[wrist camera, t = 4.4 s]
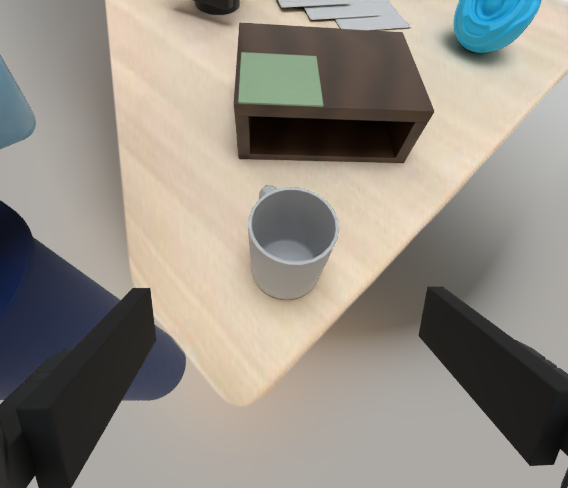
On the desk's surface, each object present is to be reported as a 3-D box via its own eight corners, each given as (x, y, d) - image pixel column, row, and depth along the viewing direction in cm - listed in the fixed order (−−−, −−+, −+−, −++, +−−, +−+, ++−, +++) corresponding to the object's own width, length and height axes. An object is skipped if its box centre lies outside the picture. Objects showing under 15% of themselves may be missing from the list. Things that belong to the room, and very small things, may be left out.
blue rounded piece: (429, 41, 55) (468, -41, 44) (462, 24, 59) (505, -56, 48) (485, 74, 51) (542, -8, 41) (516, 53, 55) (575, -27, 45)
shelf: (238, 158, 38) (233, 101, 31) (242, 81, 45) (239, 20, 38) (403, 163, 40) (435, 109, 32) (381, 87, 47) (403, 30, 40)
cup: (266, 312, 29) (268, 279, 21) (233, 230, 33) (224, 176, 25) (331, 285, 31) (355, 246, 23) (291, 211, 35) (300, 155, 27)
